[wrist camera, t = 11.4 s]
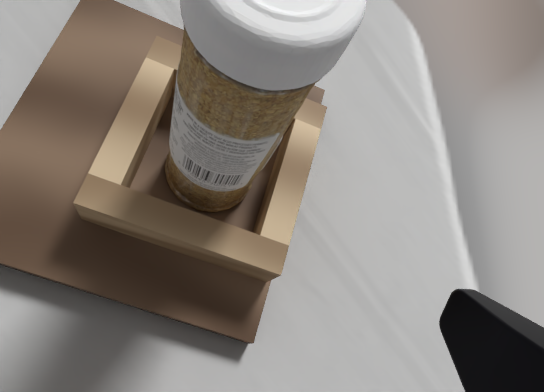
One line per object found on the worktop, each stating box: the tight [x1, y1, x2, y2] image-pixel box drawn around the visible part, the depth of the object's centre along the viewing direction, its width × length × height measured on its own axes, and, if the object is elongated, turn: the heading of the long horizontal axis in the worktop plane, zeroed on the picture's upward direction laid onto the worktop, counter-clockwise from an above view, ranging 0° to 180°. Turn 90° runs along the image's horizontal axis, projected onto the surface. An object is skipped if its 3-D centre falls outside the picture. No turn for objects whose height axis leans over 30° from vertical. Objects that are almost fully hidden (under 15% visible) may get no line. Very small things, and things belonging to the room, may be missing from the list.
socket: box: [0, 0, 327, 343], centre depth 21 cm, size 15×14×4 cm
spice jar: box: [165, 0, 367, 212], centre depth 16 cm, size 5×5×14 cm
